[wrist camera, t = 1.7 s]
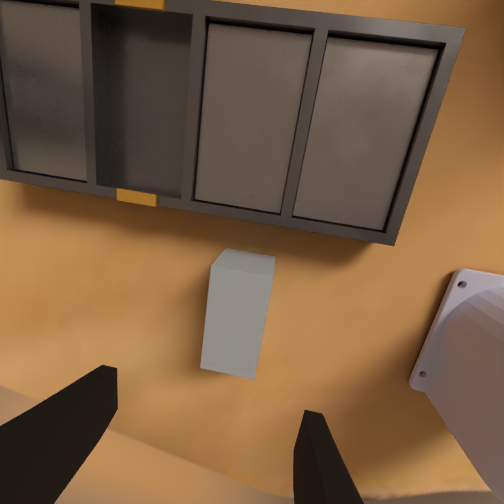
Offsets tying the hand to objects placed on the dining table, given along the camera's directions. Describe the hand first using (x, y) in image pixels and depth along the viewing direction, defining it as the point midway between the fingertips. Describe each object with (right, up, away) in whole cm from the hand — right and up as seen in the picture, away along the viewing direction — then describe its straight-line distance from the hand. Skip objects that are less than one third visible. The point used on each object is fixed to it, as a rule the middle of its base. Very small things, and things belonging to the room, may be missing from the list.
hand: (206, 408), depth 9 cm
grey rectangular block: (+1, +3, +9) cm, 10 cm away
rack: (-1, +14, +6) cm, 15 cm away
